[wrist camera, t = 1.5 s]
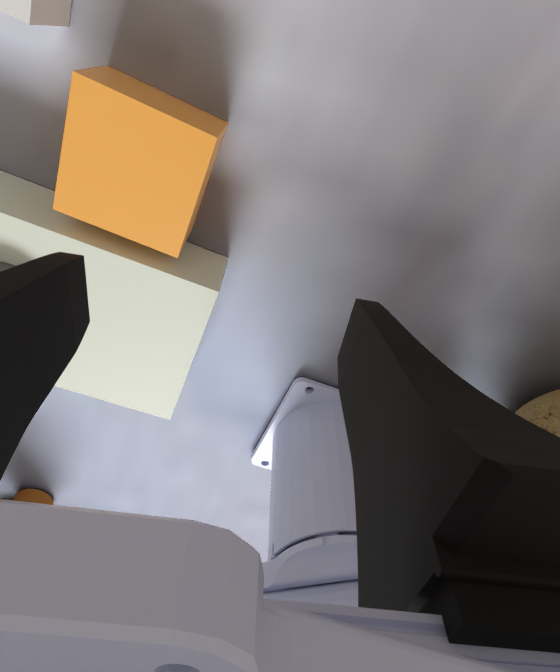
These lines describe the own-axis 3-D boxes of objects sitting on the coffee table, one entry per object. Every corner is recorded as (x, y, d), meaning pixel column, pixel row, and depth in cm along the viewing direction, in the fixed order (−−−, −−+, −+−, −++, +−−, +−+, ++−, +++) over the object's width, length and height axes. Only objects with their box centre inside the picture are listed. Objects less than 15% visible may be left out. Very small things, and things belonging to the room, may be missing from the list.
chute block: (228, 122, 18) (217, 138, 15) (192, 227, 21) (177, 258, 18) (109, 65, 17) (72, 71, 14) (87, 184, 20) (52, 209, 17)
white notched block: (288, 98, 18) (289, 113, 14) (183, 377, 26) (166, 431, 22) (-180, -126, 14) (-337, -180, 11) (-129, 277, 22) (-207, 323, 19)
